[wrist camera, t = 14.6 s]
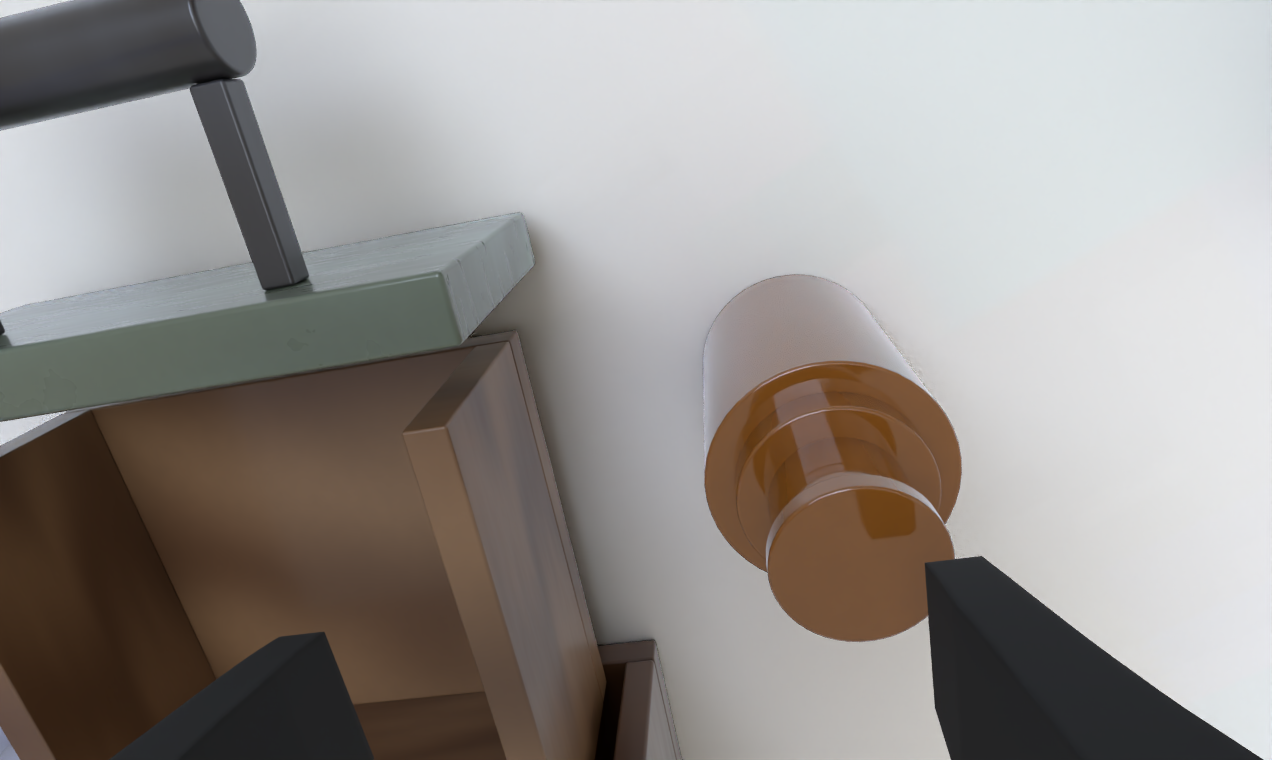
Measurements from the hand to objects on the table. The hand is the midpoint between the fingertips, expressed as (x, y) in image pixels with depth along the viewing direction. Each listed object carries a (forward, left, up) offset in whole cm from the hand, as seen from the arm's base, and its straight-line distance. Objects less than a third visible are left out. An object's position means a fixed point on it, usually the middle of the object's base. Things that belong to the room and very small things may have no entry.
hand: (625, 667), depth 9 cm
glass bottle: (+3, -1, -10) cm, 11 cm away
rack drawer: (-8, +2, -9) cm, 13 cm away
